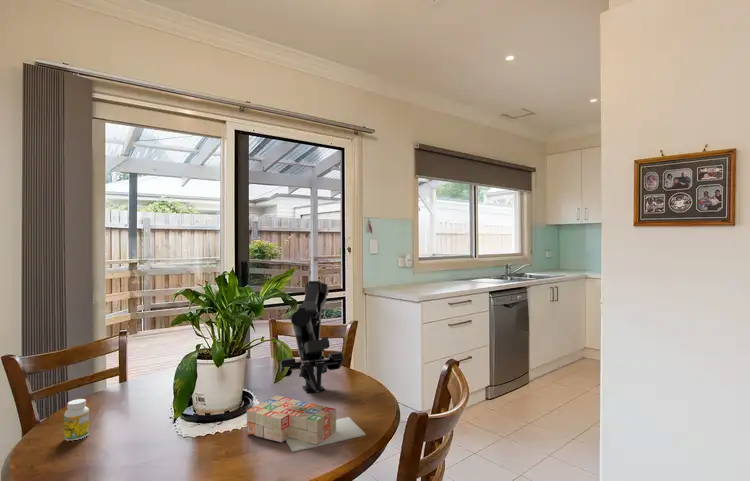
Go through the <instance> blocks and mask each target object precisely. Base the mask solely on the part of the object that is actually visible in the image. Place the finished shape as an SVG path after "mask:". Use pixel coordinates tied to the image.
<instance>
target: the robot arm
mask: <svg viewBox="0 0 750 481" xmlns="http://www.w3.org/2000/svg"><path fill="white" fill-rule="evenodd" d="M328 295H329V286H328V284H327V283H324V282H322V281H320V280H309V281H307V283H306V284H304V298H303V299H304V300H303V302H302V303H301V304H299V305H298V307H297V309H296V311H295V312H294V313H293V314H292V316H291V317H290V321H291V325H292V329H293V332H294V336H295V340H296V345H297V350H298V352H297V353H298V356H299V359H300V360H299V361H297V362H296V359H295V357H291V358H290V357H288V358H283V359H281V361H280V362H279V365H280V374H281V373H282V372H283V371H284V367H290V368H289V369H288V372H287V374H286V375H285V376H284V377H283V378H287V377H290V376H291V375H292V374H293V371H295V370H298V371H299V373H298V377H299V378H303V379H304V380H305V383H304V384H305V385H302V389H303V390H304V391H305V393H307V394H311V393H319V392H322V391H325V387H324V386H323V385H322V375H323V374H326V373H327V372H328V371H334V370H339V369H340V368H341V367H342V365H343V363H344V361H345V358H344V354H343V353H342V352H340V351H338V352H331V353H328V356H327V358H326V357H325V355H324V351H325V350H327V349H329V348H330V340H329V337H328V336H324V337H323V336H322V337H321V327H322V326H321V325H322V324H321V323H322V308H323V307H324V306H325V303H326V302H327V297H328Z"/></svg>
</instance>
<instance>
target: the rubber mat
mask: <svg viewBox="0 0 750 481" xmlns="http://www.w3.org/2000/svg"><path fill="white" fill-rule="evenodd" d="M364 436H367V435H366V433H365V432H364V431H363V430H362V429H361V428H360V426H358V425H357V424H356V423H355V422H354V421H353V420H352V419H351V418H350V417H349V416H346V417H342V418H338V419H337V418H336V431H335V432H334V433H333V434H331V435H330V436H329V437H328V438H326V439H325V440H323V441H322V442H320V443H319V444H317V445H316V444H312V443H307V442H303V441H300V440H297V439H293V438H290V437H289V438H288V439H286V440H285V442H286V443H287V445H288V447H289V450H290V451H291V452H292V453H294V452H298V451H299V452H300V451H302V450H303V451H304V450H308V449H310V448H311V449H312V448H316V447H320V446H324V445H325V446H326V445H329V444H333V443H334V444H335V443H339V442H342V441H346V440H351V439H355V438H360V437H364Z"/></svg>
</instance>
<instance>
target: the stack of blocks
mask: <svg viewBox="0 0 750 481" xmlns="http://www.w3.org/2000/svg"><path fill="white" fill-rule="evenodd" d="M336 420H337V408H333V407H328V406H327V405H321V404H316V403H313V402H306V401H303V400H297V399H292V398H290V397H286V396H282V395H274V396H272V397H271V398H269V399H267V400H264V401H263V402H260V403H258V404H255V405H254V406H253V407H251V408H248V409H246V433H247V434H249V435H252V436H255V437H259V438H262V439H265V440H270V441H276V442H279V443H283V442H284V441H286V439H288V438H289V437H290V438H293V439H297V440H300V441H303V442H307V443H312V444H316V445H317V444H319V443H320V442H322V441H323V440H325V439H326V438H328V437H329V436H330V435H331V434H333V433H334V432H335V431H336Z"/></svg>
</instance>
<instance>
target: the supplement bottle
mask: <svg viewBox="0 0 750 481" xmlns="http://www.w3.org/2000/svg"><path fill="white" fill-rule="evenodd" d="M66 405H67V406H66V407H67V410H66V411H65V412H64V414H63V415H64V416H63V417H64V418H63V419H64V420H63V421H64V422H63V428H64V429H63V434H64V435H63V437H64V438H63V440H64V439H65V440H78V439H81V440H83V439H85V438H87V437H88V436H89V435H90V408H89V407H88V406H86V405H87V400H86V399H85V398H77V399H73V400H70V401H68V402H67V404H66ZM86 436H87V437H86ZM84 437H85V438H84ZM82 438H83V439H82ZM65 440H64V441H65ZM78 441H79V440H78Z"/></svg>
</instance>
